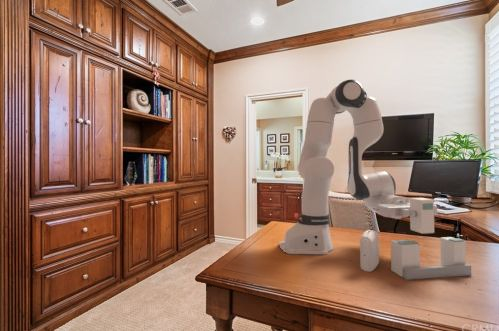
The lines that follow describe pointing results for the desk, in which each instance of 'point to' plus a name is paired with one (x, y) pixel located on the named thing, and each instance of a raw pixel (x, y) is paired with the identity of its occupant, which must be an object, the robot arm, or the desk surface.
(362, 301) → the desk surface
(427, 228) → the block
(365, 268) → the photo printer
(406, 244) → the din mount
